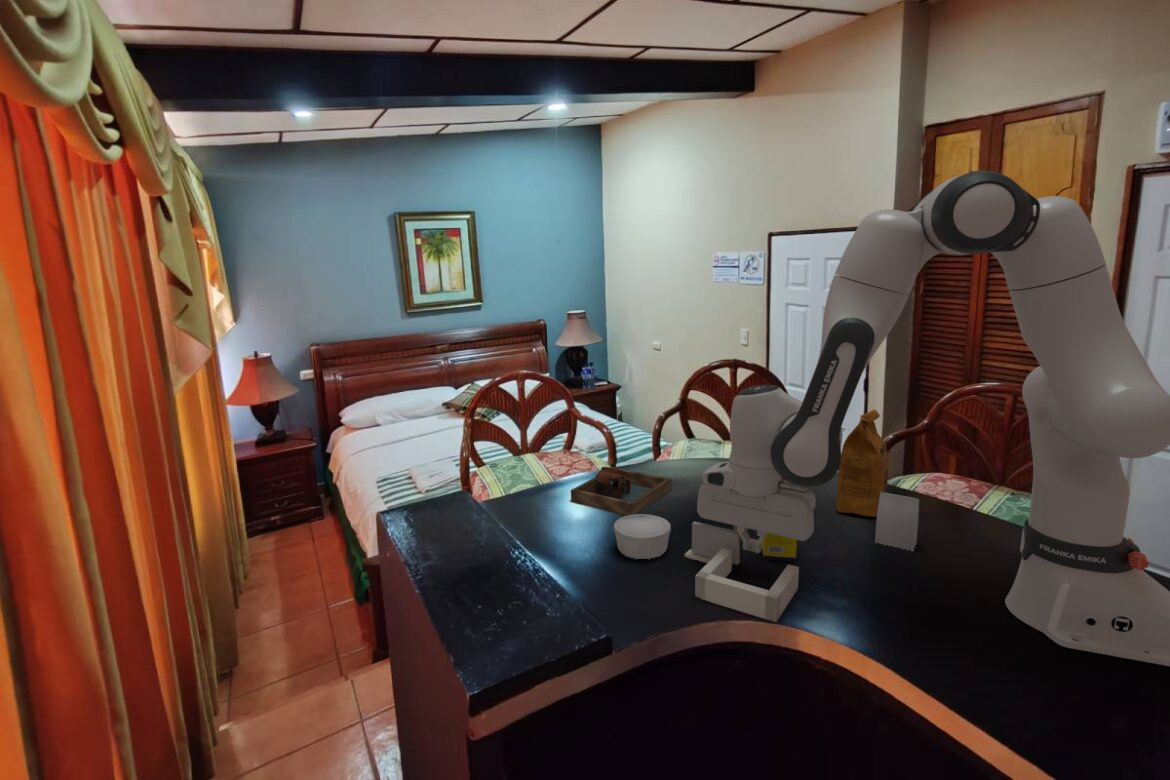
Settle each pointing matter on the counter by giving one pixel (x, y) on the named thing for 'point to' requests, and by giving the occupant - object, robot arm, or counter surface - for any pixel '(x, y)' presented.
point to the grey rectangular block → (897, 521)
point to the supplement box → (779, 548)
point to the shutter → (715, 540)
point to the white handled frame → (742, 587)
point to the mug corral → (586, 497)
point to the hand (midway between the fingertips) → (752, 550)
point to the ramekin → (642, 536)
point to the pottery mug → (616, 487)
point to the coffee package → (862, 469)
